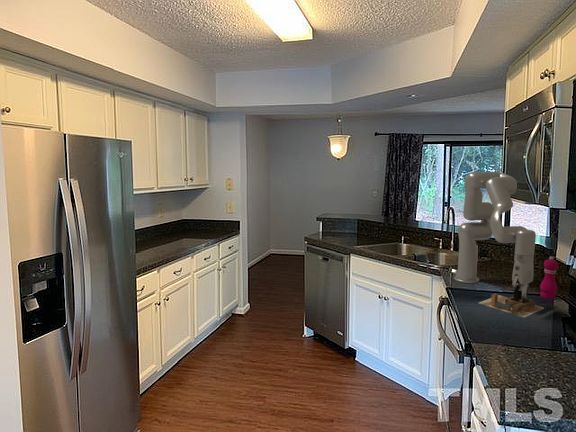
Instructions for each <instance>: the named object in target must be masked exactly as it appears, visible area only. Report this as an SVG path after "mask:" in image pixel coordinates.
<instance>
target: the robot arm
mask: <svg viewBox="0 0 576 432" xmlns="http://www.w3.org/2000/svg"><path fill="white" fill-rule="evenodd" d="M517 183H518V181H517V179H516V178H514V177H513V176H511V175H509V174H506V173H504V172H501V171H473V172H470V173H468V174H467V175H466V177H465V178H464V191H465V192H464V193H465V195H464V202H463V203H464V205H463V212H462V213H463V215H462V216H463V218H464V219H465V220H467V221H469V222H464V223H461V224H460V225H459V226H458V227H457V234H458V260H457V261H458V262H457V268H456V269H455V268H452V269H451V273H452V274H455V276H453V279H454V280H455V281H457V282H459V283H462V284H463V283H464V284H477V283H479V282H480V278H479V277H477V273H478V257H479V247H478V245H477V244H476V241H485V240H489V239H491V238H492V236H493V237H494V239H495V241H496V242H498V243H500V244H515V245H514V255H513V260H514V262H513V268H512V276H511V277H512V278H511V281H512V283H511V285H512V286H513V296H514V298H516V299H519V300H521V298H522V291H521V289H522V285H525V284H527V294H526V298H528V295H529V294H528V291H529V285H530V283H532V282H533V281H534V273H535V272H534V271H535V270H534V268H535V267H534V257H535V249H536V237H537V234H536V232H535V231H534V230H533V229H532V230H531V229H527V228H526V227H524V226H521V225H516V226H514V225H512V226H511V225H508V226H505V225H503V223H502V219H501V215H502V214H504V213H506V212H509V211H510V210H511V209H512V208H513V207H514V203H513V200H512V197H511V195H513V194H516V193H517V192H516V189H517ZM481 189H486V192H487V195H488V197H489V200H490V202H488V201H485V202H484V201H483V198H484V197H483V196H484V195H483V192H482V190H481ZM515 192H516V193H515ZM470 221H471V222H470ZM476 221H477V222H476ZM478 221H479V222H478ZM517 282H519V283H517ZM517 284H518V285H520V286H518V285H517Z"/></svg>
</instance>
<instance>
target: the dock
mask: <svg viewBox="0 0 576 432" xmlns="http://www.w3.org/2000/svg"><path fill="white" fill-rule="evenodd" d="M497 302H501V303H504V304H507V305H511V310H506V309H502V308H499V307H496V306H492V305H491V297H490V298H487V299H485V300H482V301H479V302H478V304H480V305H483V306H486V307H490V308H492V309H496V310H498V311H499V310H500V311H502V312H505V313H509V314H512V315H515V316H517V317H518V316H519V317H521V318H526V317H529V316H531V315H533V314H536V313H537V312H540V311H542V310H544V309H545V307H543V306H539V305H536V300H533V299H530V298H528V297H526V303H524V304H523V303H520V302H516V301H515V298H514V295H513V296H509V297H507V296H504V295H500V294H498V301H497Z"/></svg>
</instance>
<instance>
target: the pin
mask: <svg viewBox="0 0 576 432" xmlns="http://www.w3.org/2000/svg"><path fill="white" fill-rule="evenodd" d="M498 295H499V294H497V293H493V294H491V297H490V298H491V305H492V306H496V307H499V308H502V309H506V310H511V305H507V304H504V303H501V302H497V301H498Z"/></svg>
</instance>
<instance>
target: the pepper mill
mask: <svg viewBox="0 0 576 432" xmlns="http://www.w3.org/2000/svg"><path fill="white" fill-rule="evenodd" d="M543 267H544V271H543V272H544V278H543V280H542V281H541V283H540V285H539V289H540V297H541V298H544V299H547V300H548V299H549V300H550V299H552V300H553V299H555V298H556V295H557V294H556V292H557V291H558V284H557V281H556V279H555V277H556V274H557V269H558V268H559V262H557V260H555V259H554V256H549V257H548V259H545V260H544V262H543Z"/></svg>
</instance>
